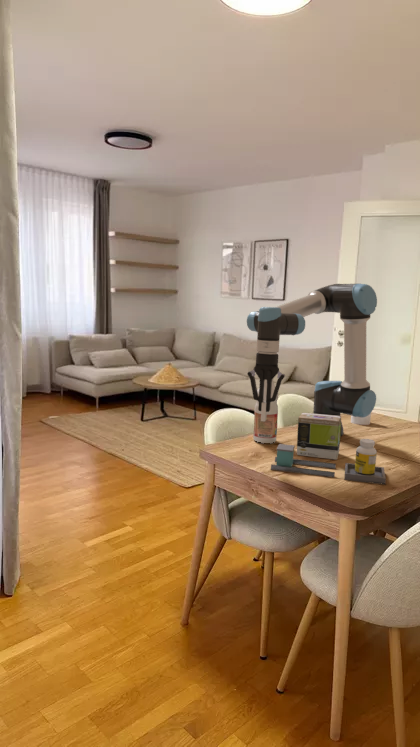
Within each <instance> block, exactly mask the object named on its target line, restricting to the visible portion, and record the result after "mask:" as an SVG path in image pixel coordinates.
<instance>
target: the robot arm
mask: <svg viewBox="0 0 420 747" xmlns="http://www.w3.org/2000/svg"><path fill="white" fill-rule="evenodd" d="M377 304H378V297H377V294H376V291H375V289H374V288H373V287H372V286H371V285H369V284H367V283H333V284H329V285H326V286H323V287H320V288H318V289H314V290H312V291H310V292H308V294H307V295H305V296H302V297H299V298H297V299H296V298H295V299H293V300H291V301H289V302H286V303H284V304H280V305H277V306H272V307H271V306H260V308H259V309H258V310H257V311H251V312H250V313H249V314H248V315H247V318H246V327H247V328H248V329H249V330H250V331H252V332H256V333H257V334H256V335H257V339H256V353H255V355H256V356H255V365H254V367H253V370H250V371H248V372H247V376H248V378H249V380H250V386H251V392H252V396H253V398H252V399H254V400H255V401H256V402H257V401H258V402H259V407H258V410H259V411H261V421H264V422H265V421H266V417H267V412H269V411H270V402H273V401H275V400H276V397H277V394H278V395H279V391H280V388H281V384H282V381H283V379H284V378H285V377H286V374H285V373H283V372H281V371H280V368H279V354H278V353H279V352H280V337H281V336H296V335H301V334H302V333H303V332H304V331H305V329H306V320H305V317H308V316H310V315H312V314H316V315H319V314H324V313H335V314H336V313H337V314H339V316H340V317H339V319H340V320H341V321H342V322H343V337H344V339H343V340H344V341H343V342H344V343H343V347H344V348H343V349H344V350H343V353H344V354H343V356H344V357H343V358H344V359H343V360H344V365H343V366H344V367H343V368H344V376H343V377H344V380H343V381H341V380H321V381H318V382H316V383H315V385H314V392H313V393H314V397H313V398H314V399H313V412H312V413H313V414H324V415H335V416H341V415H342V414H343V415H348V416H350V417H351V416H354V417H366V416H368V415H369V414H370V413H371V414H372V412H373V410H374V408H375V407H376V403H377V394H376V392H375V391H374V390H371V383H370V382H369V381H368V380H367V322H368V321H369V320H370V319H371V315H372V314H373V313H374V312H375V311H376V308H377V306H378V305H377ZM256 376H257V378H258V379H259V387H257V382H256ZM276 376H277V381H276V382H275V383H276V384H275V390H274V393H273V396H272V398H271V387H272V379H273V380H274V378H275V377H276ZM265 380H267V395H266V401H263V400H264V399H263V396H264V381H265ZM258 388H259V396H258V392H257V390H258ZM343 435H344V426H343V422H342V421H341V431H340V437H342V436H343Z"/></svg>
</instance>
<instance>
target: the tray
mask: <svg viewBox="0 0 420 747" xmlns="http://www.w3.org/2000/svg"><path fill="white" fill-rule="evenodd" d="M344 466H345V467H344V478H343V479H344V481H345V480H346V481H347V480H348V481H351V482H352V481H354V482H360V483H369V484H378V485H385V486H386V481H387V480H386V479H387V478H386V473H385V467H383V466H377V465H375V474H374V476H367V475H359V474H356V473H355V463H348V462H345V465H344Z"/></svg>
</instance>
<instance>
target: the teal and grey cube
mask: <svg viewBox="0 0 420 747" xmlns="http://www.w3.org/2000/svg"><path fill="white" fill-rule="evenodd" d="M295 447H296V446H295V445H292V444H283V443H279V444H278V445H277V448H276V450H275V451H276V457H277V462H276V463H275V465H281V466H289V467H293V465H294V464H293V459H294V455H295V454H294V451H295V450H294V449H295Z"/></svg>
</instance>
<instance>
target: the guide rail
mask: <svg viewBox="0 0 420 747" xmlns="http://www.w3.org/2000/svg"><path fill="white" fill-rule="evenodd" d="M274 462H277V456H275V457H274ZM293 465H301V466H308V467H315V468H316V467H317V468H325V469H335V470H336V465H337V464H336V463H333V462H332V463H331V462H323V461H315V460H308V459H307V460H306V459H299V458H298V459H297V458H293ZM270 470H271V471H273V470H274V471H280V472H288V473H296V474H304V475H312V476H320V477H328V478H335V476H336V473H335V471H330V470H321V469H312V468H306V467H305V468H304V467H297V466H296V467H295V466H292V467H289V466H281V465H276V464H271V465H270Z"/></svg>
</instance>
